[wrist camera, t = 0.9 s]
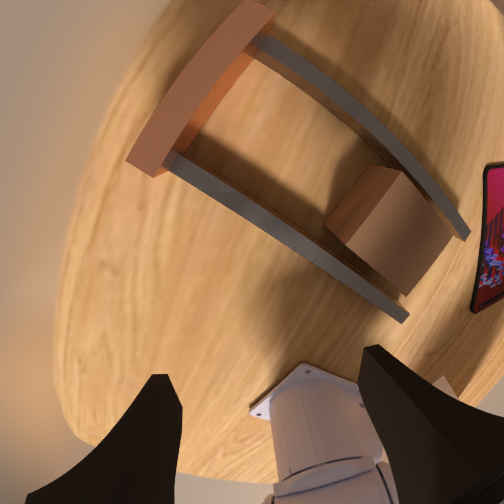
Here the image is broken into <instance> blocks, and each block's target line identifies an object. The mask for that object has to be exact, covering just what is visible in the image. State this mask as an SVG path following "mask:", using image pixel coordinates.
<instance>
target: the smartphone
mask: <svg viewBox="0 0 504 504" xmlns="http://www.w3.org/2000/svg"><path fill="white" fill-rule="evenodd" d="M502 298H504V164H503V165H494V166H487V167H486V168H485V169H484V172H483V211H482V229H481V241H480V250H479V258H478V266H477V272H476V279H475V284H474V290H473V295H472V300H471V305H470V311H471V312H472V313H474V314H476V313H478V312H480V311H482V310H484V309H485V308H487V307H489V306H491V305H492V304H494V303H496V302H497V301H499V300H501V299H502Z"/></svg>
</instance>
